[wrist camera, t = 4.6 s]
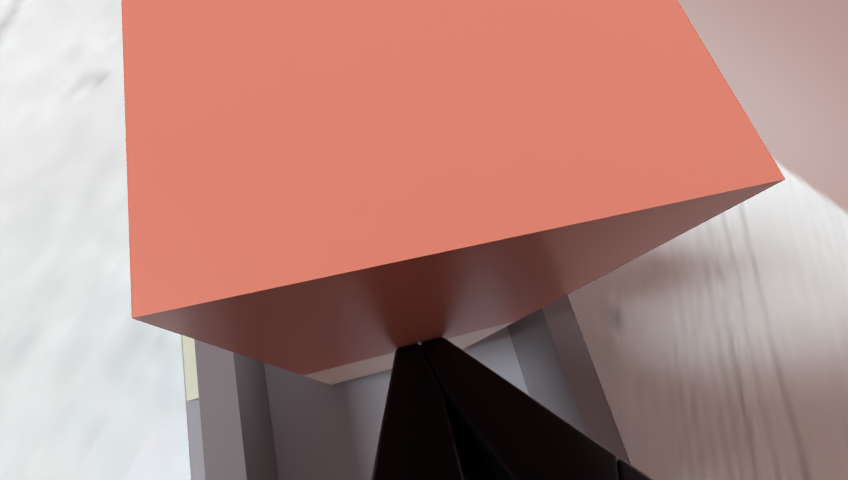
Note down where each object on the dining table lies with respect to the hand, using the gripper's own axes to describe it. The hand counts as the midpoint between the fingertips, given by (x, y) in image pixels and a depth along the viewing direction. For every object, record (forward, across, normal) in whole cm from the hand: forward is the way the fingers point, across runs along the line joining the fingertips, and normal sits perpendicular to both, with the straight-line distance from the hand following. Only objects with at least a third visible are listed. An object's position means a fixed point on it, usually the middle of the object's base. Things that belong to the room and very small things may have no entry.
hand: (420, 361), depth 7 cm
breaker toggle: (+5, 0, +3) cm, 6 cm away
